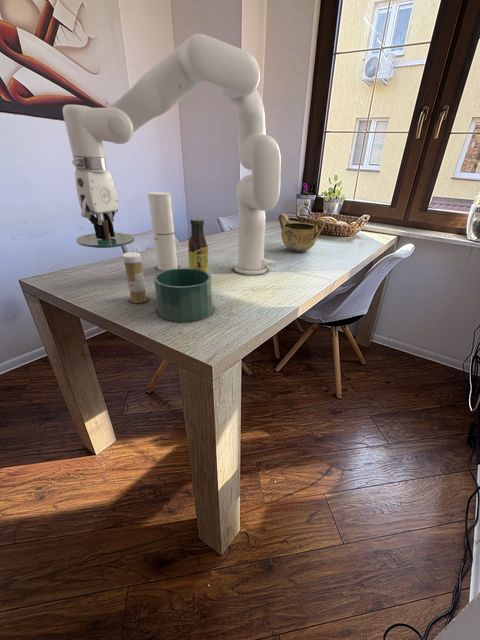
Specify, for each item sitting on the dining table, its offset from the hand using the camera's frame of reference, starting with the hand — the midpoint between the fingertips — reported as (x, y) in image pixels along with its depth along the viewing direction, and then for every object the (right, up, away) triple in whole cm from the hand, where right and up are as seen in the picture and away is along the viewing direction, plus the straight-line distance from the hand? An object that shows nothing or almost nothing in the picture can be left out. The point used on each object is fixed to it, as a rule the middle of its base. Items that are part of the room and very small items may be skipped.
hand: (105, 236), depth 91 cm
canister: (+25, -22, -5) cm, 34 cm away
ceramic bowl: (+63, +14, +55) cm, 85 cm away
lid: (0, -1, +1) cm, 1 cm away
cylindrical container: (+11, -3, +24) cm, 27 cm away
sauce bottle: (+25, -10, +14) cm, 30 cm away
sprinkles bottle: (+10, -19, -1) cm, 22 cm away
